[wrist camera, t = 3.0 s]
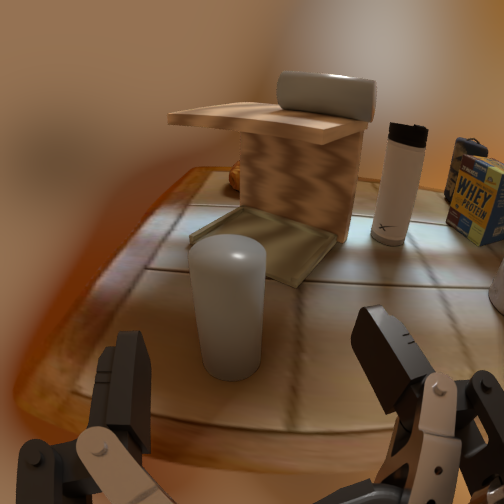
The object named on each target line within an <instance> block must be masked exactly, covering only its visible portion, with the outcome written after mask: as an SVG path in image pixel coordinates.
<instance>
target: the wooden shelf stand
mask: <svg viewBox="0 0 504 504" xmlns="http://www.w3.org/2000/svg"><path fill="white" fill-rule="evenodd" d="M167 117H168V125H182V126H194V127H205V128H215V129H225V130H233V131H240V207H238V208H236V209H235V210H233V211H231V212H229V213H227V214H226V215H224V216H222V217H220V218H219V219H217V220H215V221H213V222H211V223H210V224H208V225H206V226H204V227H203V228H201V229H199V230H198V231H196V232H194V233H192V234H191V235H189V238H190V244H193V245H194V244H196V243H197V242H199V241H200V240H202V239H205V238H207V237H211V236H215V235H222V234H236V235H242V236H246V237H249V238H252V239H254V240H256V241H257V242H259V243H260V244H261V245H262V246H263V247H264V249H265V251H266V271H265V276H268V277H270V278H272V279H275V280H277V281H280V282H282V283H284V284H287V285H289V286H292V287H294V288H297V287H298V286H299V285H300V284H301V283H302V281H303V280H304V279H305V278H306V277H307V276H308V275H309V274H310V272H311V271H312V270H313V269H314V268H315V267H316V266H317V264H318V263H319V262H320V261H321V260H322V259H323V258H324V256H325V255H326V254H327V253H328V252H329V251H330V249H331V248H332V247H333V246H334V245H335V244H336V241H337V242H340V243H344V242H345V240H346V239H347V237H348V231H349V226H350V221H351V215H352V209H353V204H354V198H355V191H356V185H357V178H358V172H359V165H360V156H361V150H362V142H363V133H364V130H365V129H367V127H368V122H365V121H360V120H355V119H349V118H343V117H337V116H331V115H325V114H318V113H311V112H303V111H294V110H285V109H282V108H281V107H280V106H279V105H274V104H264V103H252V102H241V103H233V104H224V105H216V106H210V107H203V108H196V109H191V110H184V111H179V112H173V113H168V114H167Z"/></svg>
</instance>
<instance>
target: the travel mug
mask: <svg viewBox="0 0 504 504" xmlns="http://www.w3.org/2000/svg"><path fill="white" fill-rule="evenodd" d="M427 136H428V129H426V128H425V127H424V126H419V125H415V124H414V126H409V125H404V124H398V123H391V122H390V126H389V134H388V139H387V140H388V142H387V146H386V153H385V159H384V165H383V171H382V177H381V183H380V188H379V194H378V199H377V204H376V209H375V214H374V219H373V224H372V228H371V235H372V237H373V238H374V239H375V240H377V241H378V242H380V243H382V244H385V245H390V246H398V245H401V244H403V243H404V241H405V237H406V233H407V230H408V226H409V223H410V219H411V215H412V211H413V207H414V203H415V199H416V194H417V190H418V186H419V180H420V176H421V171H422V166H423V161H424V156H425V150H426V141H427Z"/></svg>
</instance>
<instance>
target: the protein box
mask: <svg viewBox="0 0 504 504" xmlns="http://www.w3.org/2000/svg"><path fill="white" fill-rule="evenodd" d="M446 223H448V224H449V225H450V226H452V227H453V228H455V229H456V230H457V231H459V232H460V233H461V234H463V235H464V236H465V237H467V238H468V239H469V240H471V241H472V242H473V243H474V244H476V245H477V246H478V247H479V246H483V245H486V244H489V243H493V242H496V241H500V240H503V239H504V164H503V163H501V162H499V161H497V160H495V159H491V158H485V157H479V156H472V155H466V154H463V155H462V160H461V165H460V169H459V173H458V178H457V182H456V186H455V190H454V194H453V198H452V201H451V205H450V209H449V212H448V216H447V219H446Z"/></svg>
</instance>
